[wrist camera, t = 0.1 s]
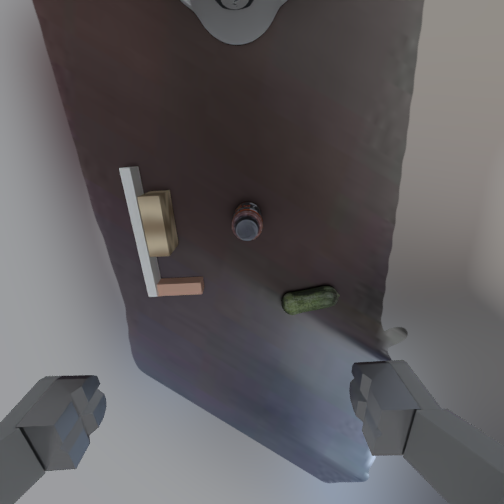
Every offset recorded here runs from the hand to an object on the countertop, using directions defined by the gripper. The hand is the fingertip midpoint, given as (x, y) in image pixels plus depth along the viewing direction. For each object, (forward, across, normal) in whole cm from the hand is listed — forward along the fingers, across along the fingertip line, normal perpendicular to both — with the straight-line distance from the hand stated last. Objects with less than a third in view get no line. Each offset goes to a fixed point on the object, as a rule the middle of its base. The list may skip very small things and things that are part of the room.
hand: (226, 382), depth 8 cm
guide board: (+48, +17, +9) cm, 52 cm away
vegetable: (+48, -14, +27) cm, 57 cm away
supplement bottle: (+48, 0, +6) cm, 49 cm away
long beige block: (+48, +18, +6) cm, 52 cm away
